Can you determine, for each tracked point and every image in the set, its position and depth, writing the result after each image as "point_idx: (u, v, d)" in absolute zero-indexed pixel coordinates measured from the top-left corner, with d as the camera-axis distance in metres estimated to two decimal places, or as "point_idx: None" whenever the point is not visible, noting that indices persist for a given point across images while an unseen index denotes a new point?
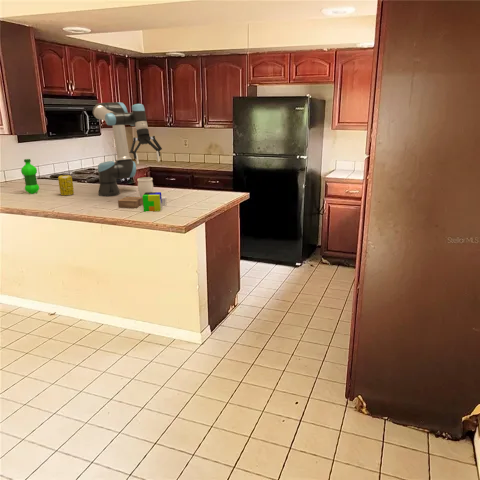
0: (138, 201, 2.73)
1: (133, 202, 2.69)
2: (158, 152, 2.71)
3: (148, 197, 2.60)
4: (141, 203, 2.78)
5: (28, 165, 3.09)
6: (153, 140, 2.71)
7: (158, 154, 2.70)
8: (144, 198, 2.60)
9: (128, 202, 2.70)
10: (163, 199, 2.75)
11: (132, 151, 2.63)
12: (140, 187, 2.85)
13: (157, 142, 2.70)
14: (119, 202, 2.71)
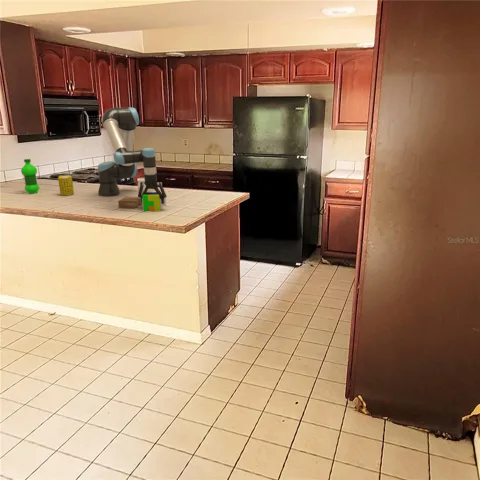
0: (138, 201, 2.74)
1: (134, 202, 2.69)
2: (161, 200, 2.64)
3: (148, 197, 2.60)
4: (141, 203, 2.78)
5: (28, 165, 3.09)
6: None
7: (160, 202, 2.63)
8: (144, 198, 2.60)
9: (128, 202, 2.70)
10: None
11: (139, 196, 2.65)
12: None
13: (162, 190, 2.61)
14: (119, 202, 2.71)
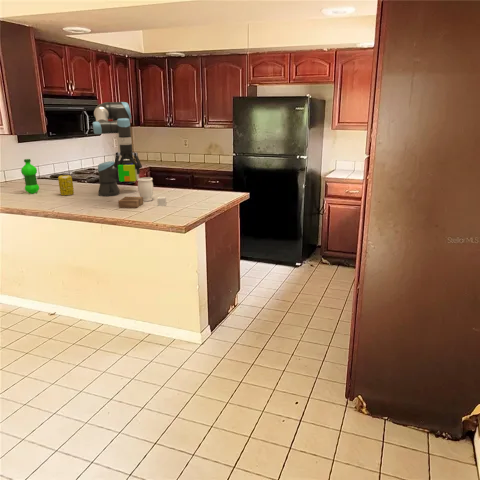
0: (138, 201, 2.74)
1: (134, 202, 2.69)
2: (137, 170, 2.67)
3: (123, 167, 2.64)
4: (141, 203, 2.78)
5: (28, 165, 3.09)
6: (135, 156, 2.66)
7: (136, 172, 2.67)
8: (119, 168, 2.64)
9: (129, 202, 2.70)
10: (163, 199, 2.75)
11: (115, 166, 2.69)
12: (140, 187, 2.85)
13: (137, 160, 2.65)
14: (119, 202, 2.71)
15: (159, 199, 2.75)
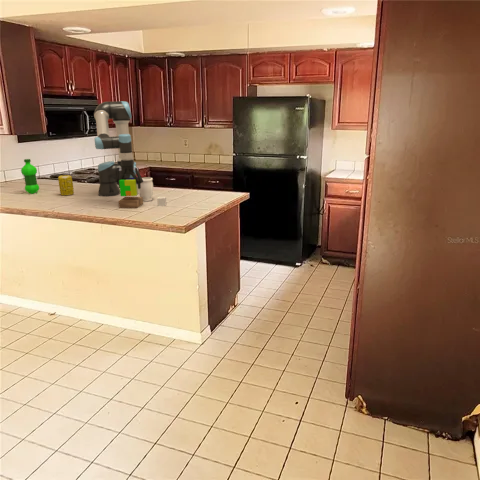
0: (139, 201, 2.74)
1: (134, 202, 2.70)
2: (138, 185, 2.70)
3: (124, 182, 2.67)
4: (141, 203, 2.78)
5: (28, 165, 3.09)
6: None
7: (137, 187, 2.70)
8: (121, 183, 2.67)
9: (129, 202, 2.70)
10: (163, 199, 2.75)
11: (116, 181, 2.72)
12: None
13: (138, 175, 2.68)
14: (120, 202, 2.71)
15: (159, 199, 2.75)
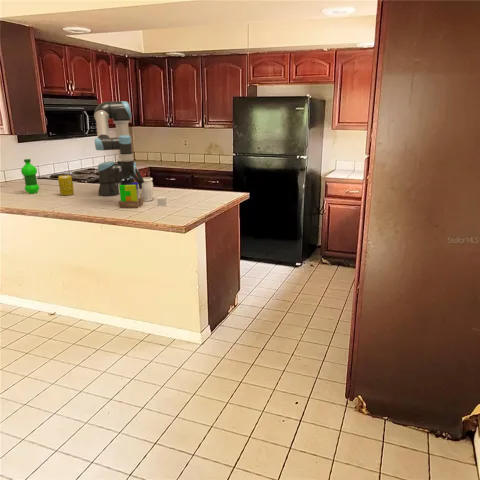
0: (139, 201, 2.74)
1: (135, 202, 2.70)
2: (139, 185, 2.70)
3: (125, 187, 2.68)
4: (141, 203, 2.79)
5: (28, 165, 3.09)
6: None
7: (138, 187, 2.70)
8: (121, 188, 2.68)
9: (129, 202, 2.70)
10: (163, 199, 2.75)
11: (115, 181, 2.73)
12: None
13: (139, 175, 2.68)
14: (120, 203, 2.71)
15: (159, 199, 2.75)
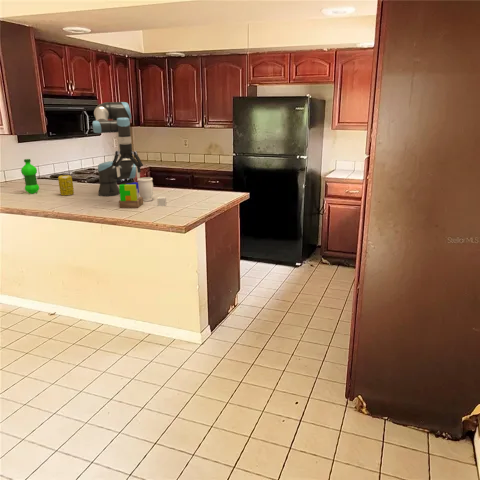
0: (139, 201, 2.74)
1: (135, 202, 2.70)
2: (138, 168, 2.67)
3: (124, 186, 2.68)
4: (141, 203, 2.79)
5: (28, 165, 3.09)
6: (135, 155, 2.65)
7: (137, 171, 2.67)
8: (120, 187, 2.68)
9: (130, 202, 2.70)
10: (163, 199, 2.75)
11: (113, 164, 2.69)
12: (140, 187, 2.85)
13: (137, 159, 2.64)
14: (120, 202, 2.71)
15: (159, 199, 2.75)
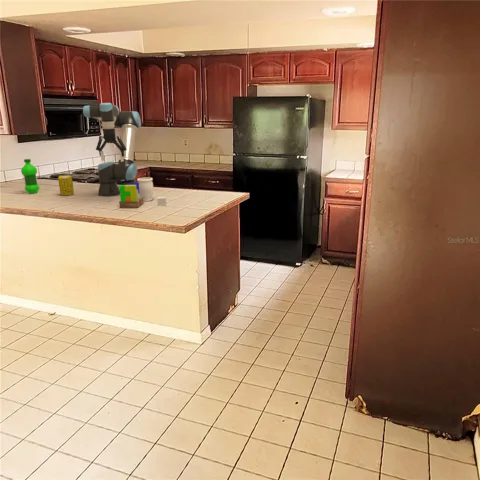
0: (139, 201, 2.74)
1: (135, 202, 2.70)
2: (121, 152, 2.75)
3: (125, 187, 2.68)
4: (141, 203, 2.79)
5: (28, 165, 3.09)
6: None
7: (121, 155, 2.75)
8: (121, 188, 2.68)
9: (130, 203, 2.70)
10: (163, 199, 2.75)
11: (97, 149, 2.76)
12: (140, 187, 2.85)
13: (121, 143, 2.72)
14: (120, 203, 2.71)
15: (159, 199, 2.75)
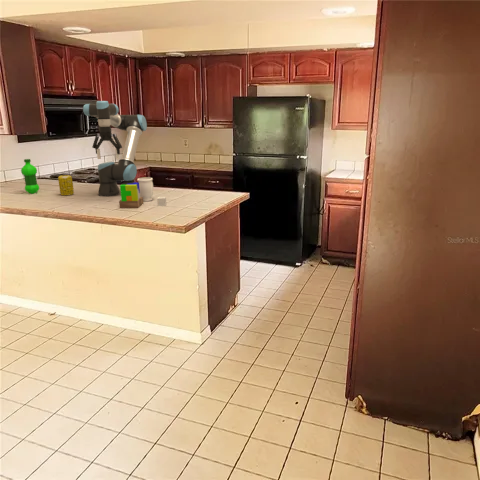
0: (139, 201, 2.74)
1: (135, 202, 2.70)
2: (117, 150, 2.76)
3: (125, 187, 2.67)
4: (141, 203, 2.79)
5: (28, 165, 3.09)
6: None
7: (116, 152, 2.76)
8: (121, 188, 2.67)
9: (130, 202, 2.70)
10: (163, 199, 2.75)
11: (93, 147, 2.78)
12: (140, 187, 2.85)
13: (116, 140, 2.73)
14: (120, 202, 2.71)
15: (159, 199, 2.75)
